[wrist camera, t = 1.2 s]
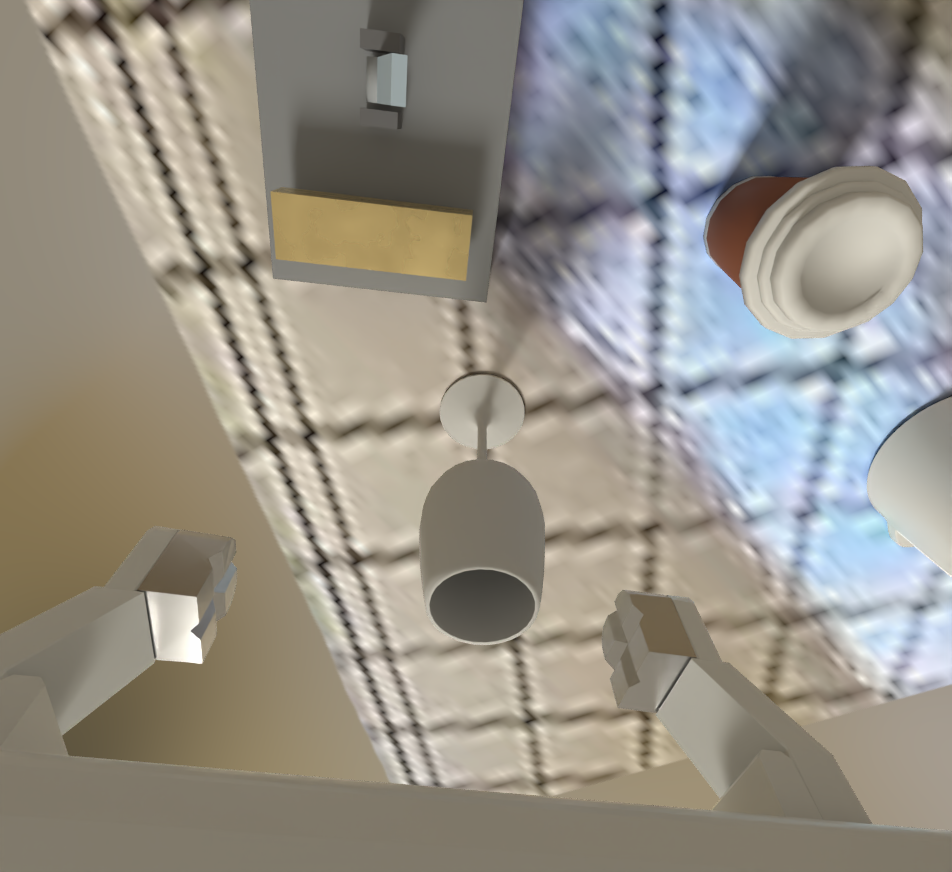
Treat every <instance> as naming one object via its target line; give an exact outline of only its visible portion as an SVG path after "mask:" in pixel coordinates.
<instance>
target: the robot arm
mask: <svg viewBox="0 0 952 872" xmlns="http://www.w3.org/2000/svg"><path fill="white" fill-rule="evenodd" d="M867 493H868V497H869V499H870V501H871V503H872V505H873V506H874V508H875V509H876V510H877V511H878V512H879V513H880V514H881V515H882V516H883V517H884V518H885V519H886V521H887V525H888V532H889V535H890V538H891V539H892V540H893V541H894V542H896V543H897V544H898V545H899V546H902V547H916V548H917V549H918V550H919V551H921V552H922V553H923V554H924V555H925V556H927V557H928V558H929V559H930V560H931V561H932V562H934V563H935V564H936V565H937V566H938V567H940V568H941V569H942V570H943V571H945V572H946V573H947V574H948V575H949V576H951V577H952V397H949V398H946V399H944V400H942V401H939V402H937V403H935V404H933V405H931V406H930V407H928V408H926V409H924V410H923V411H921V412H919V413H918V414H916V415H915V416H913V417H912V418H911V419H909V420H908V421H907V422H905V423H904V424H903V425H902V426H901V427H899V428H898V429H897V430H896V431H895V432H894V433H893V434H892V435H891V436H890V437H889V438H888V439H887V441H886V442H885V443H884V444H883V446H882V447H881V448H880V450H879V451H878V453H877V454H876V456H875V458H874V460H873V462H872V464H871V467H870V470H869V473H868V478H867ZM235 554H236V543H235V539H233V538H231V537H225V536H218V535H212V534H206V533H200V532H193V531H187V530H177V529H171V528H165V527H158V526H154V527H153V528H151V529H149V530H148V531H147V532H146V533H145V534H144V536H143V537H142V538H141V540H140V541H139V542H138V544H137V545H136V546H135V547H134V549H133V550H132V551H131V553H130V554H129V555H128V556H127V558H126V559H125V560H124V562H123V563H122V564H121V566H120V567H119V568H118V569H117V571H116V572H115V573H114V575H113V576H112V577H111V578H110V580H109V581H108V582H107V584H106V585H105V586H104V587H97V586H95V587H93V588H91V589H89V590H87V591H85V592H83V593H81V594H79V595H77V596H75V597H73V598H71V599H69V600H67V601H65V602H64V603H61V604H60V605H57V606H55V607H53V608H51V609H49V610H47V611H46V612H44V613H42V614H40V615H38V616H36V617H34V618H32V619H30V620H28V621H26V622H24V623H22V624H20V625H18V626H16V627H14V628H12V629H10V630H8V631H6V632H4V633H2V634H0V872H952V831H948V830H937V829H925V828H913V827H901V826H890V825H877V824H872V822H871V821H870V819H869V817H868V815H867V814H866V812H865V810H864V808H863V807H862V805H861V803H860V801H859V800H858V798H857V796H856V795H855V793H854V791H853V789H852V788H851V786H850V784H849V782H848V781H847V779H846V777H845V775H844V774H843V772H842V770H841V769H840V767H839V765H838V763H837V762H836V760H835V758H834V757H833V755H832V754H831V753H830V752H829V751H828V750H826V749H825V748H824V747H823V746H822V745H821V744H820V743H819V742H817V741H816V740H815V739H814V738H813V737H812V736H810V735H809V734H808V733H807V732H806V731H805V730H804V729H803V728H802V727H801V726H799V725H798V724H797V723H796V722H795V721H794V720H793V719H792V718H790V717H789V716H788V715H787V714H786V713H785V712H784V711H783V710H781V709H780V708H779V707H778V706H777V705H776V704H775V703H774V702H772V701H771V700H770V699H769V698H768V697H767V696H766V695H765V694H763V693H762V692H761V691H760V690H759V689H758V688H757V687H756V686H755V685H753V684H752V683H751V682H750V681H749V680H748V679H747V678H746V677H744V676H743V675H742V674H741V673H740V672H739V671H738V670H737V669H735V668H734V667H733V666H732V665H731V664H730V663H728V662H722V660H721V658H720V656H719V654H718V652H717V650H716V648H715V646H714V644H713V641H712V639H711V637H710V635H709V633H708V631H707V629H706V627H705V625H704V623H703V621H702V619H701V616H700V614H699V612H698V610H697V608H696V606H695V604H694V602H693V601H692V600H691V599H690V598H686V597H677V596H669V595H667V596H665V595H660V594H652V593H644V592H636V591H628V590H622V591H621V592H620V593H619V594H618V596H617V598H616V600H615V605H616V608H617V611H615V612H613V613H612V614H610V615H608V617H607V619H606V621H605V624H604V626H603V633H602V648H603V653H604V657H605V660H606V661H607V662H608V663H609V665H610V666H611V667H612V668H613V669H614V672H613V674H612V676H611V678H610V681H611V684H612V688H613V692H614V696H615V699H616V703H617V707H618V708H623V709H631V710H638V711H645V712H653V713H657V714H656V716H657V717H658V719H659V720H660V721H661V722H662V724H663V725H664V726H665V728H666V729H667V730H668V732H669V733H670V734H671V735H672V737H673V738H674V739H675V741H676V742H677V743H678V745H679V746H680V747H681V748H682V750H683V751H684V752H685V754H686V755H687V756H688V758H689V759H690V760H691V761H692V763H693V764H694V765H695V766H696V768H697V769H698V771H699V772H700V773H701V775H702V776H703V777H704V778H705V780H706V781H707V782H708V783H709V785H710V786H711V788H712V789H713V790H714V791H715V793H716V794H717V795H718V797H719V798H720V800H719V801H718V802H717V803H716V804H715V805H714V807H713V808H712V809H711V810H701V809H690V808H677V807H666V806H654V805H643V804H630V803H618V802H606V801H595V800H583V799H572V798H560V797H548V796H536V795H524V794H512V793H500V792H489V791H477V790H465V789H453V788H441V787H429V786H418V785H406V784H394V783H381V782H369V781H359V780H346V779H335V778H323V777H310V776H299V775H288V774H276V773H264V772H253V771H241V770H229V769H217V768H205V767H194V766H181V765H170V764H159V763H147V762H135V761H123V760H112V759H99V758H88V757H76V756H68V753H67V750H66V747H65V744H64V741H63V738H62V735H63V734H64V733H66V732H67V731H68V730H70V729H71V728H72V727H73V726H75V725H76V724H77V723H78V722H80V721H81V720H82V719H83V718H85V717H86V716H87V715H89V714H90V713H91V712H92V711H93V710H95V709H96V708H97V707H99V706H100V705H101V704H103V703H104V702H105V701H106V700H108V699H109V698H110V697H111V696H113V695H114V694H115V693H116V692H118V691H119V690H120V689H122V688H123V687H124V686H125V685H127V684H128V683H129V682H131V681H132V680H133V679H134V678H136V677H137V676H138V675H139V674H140V673H142V672H143V671H144V670H146V669H147V668H148V667H150V666H151V665H152V664H153V663H155V659H156V660H168V661H180V662H181V661H182V662H193V663H203V661H204V659H205V657H206V655H207V653H208V651H209V649H210V647H211V645H212V643H213V641H214V639H215V637H216V635H217V628H216V621H218V620H219V619H221V618H222V617H224V616H225V615H226V614H227V611H228V609H229V607H230V605H231V603H232V599H233V596H234V592H235V589H236V580H237V568H236V567H235V566H234V565H233V564H232V562H231V561H232V560H233V558H234V556H235Z"/></svg>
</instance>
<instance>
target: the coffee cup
mask: <svg viewBox="0 0 952 872" xmlns="http://www.w3.org/2000/svg"><path fill="white" fill-rule="evenodd" d="M703 238H704V243H705V247H706V252H707V254H708V255H709V257H710V258H711V259H712V260H713V261H714V263H715V264H716V265H717V266H718V267H720V268H721V269H722V270H723V271H724V272H725V273H726V274H727V275H728V276H729V277H730V278H731V279H732V280H733V281H734V282H735V283H736V284H737V285H738V286H739V287H740V288H741V289H742V294H743V299H744V304H745V305H746V307H747V308H748V309H749V310H750V311H751V313H752V314H753V315H754V316H755V318H756V319H757V320H758V321H759V322H760V324H761V325H762V326H764V327H765V328H767V329H769V330H772V331H774V332H777V333H779V334H781V335H784V336H786V337H789V338H791V339H796V338H825V337H827V336H830V335H833V334H836V333H838V332H841V331H844V330H847V329H849V328H852V327H855V326H857V325H860V324H862V323H865V322H868V321H869V320H871V319H872V318H873V317H875V316H876V315H877V314H879V313H880V312H882V311H883V310H884V309H886V308H887V307H889V306H890V305H891V304H893V303H894V301H895V300H896V299H897V298H898V296H899V295H900V294H901V293H902V291H903V290H904V289H905V288H906V286H907V285H908V284H909V283H910V281H911V280H912V279H913V276H914V273H915V271H916V268H917V266H918V263H919V261H920V258H921V255H922V253H923V225H922V208H921V206H920V204H919V203H918V201H917V199H916V198H915V196H914V194H913V193H912V191H911V189H910V187H909V186H908V184H907V182H906V181H905V180H903V179H901V178H899V177H897V176H895V175H893V174H891V173H889V172H887V171H885V170H883V169H881V168H879V167H874V166H849V167H833V168H830V169H828V170H826V171H823V172H821V173H819V174H816V175H814V176H812V177H810V178H801V177H774V176H752V177H749V178H747V179H745V180H743V181H740V182H738V183H736V184H734V185H732V186H731V187H730V188H729V189H728V190H727V191H726V192H724V193H723V194H722V195H721V196H720V197H719V198H718V199H717V200H716V202H715V204H714V205H713V207H712V209H711V211H710V212H709V214H708V216H707V218H706V224H705V229H704V235H703Z"/></svg>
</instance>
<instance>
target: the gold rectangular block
mask: <svg viewBox="0 0 952 872" xmlns="http://www.w3.org/2000/svg"><path fill="white" fill-rule="evenodd" d="M270 192H271V204H272V217H273V229H274V241H275V254H276V259H278V260H287V261H296V262H304V263H313V264H322V265H331V266H339V267H348V268H357V269H366V270H375V271H383V272H392V273H401V274H410V275H418V276H427V277H436V278H445V279H453V280H462V281H466V276H467V266H468V256H469V246H470V236H471V226H472V216H473V210H469V209H460V208H452V207H444V206H435V205H427V204H419V203H411V202H402V201H394V200H386V199H377V198H369V197H361V196H353V195H344V194H336V193H328V192H319V191H311V190H303V189H294V188H286V187H281V188H278V189H276V190H273V191H270Z"/></svg>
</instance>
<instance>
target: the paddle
mask: <svg viewBox="0 0 952 872" xmlns="http://www.w3.org/2000/svg"><path fill="white" fill-rule="evenodd" d="M407 57H408V55H402V54H396V53H390V54H386V55H383V56H380V57H371V56H367V65H366V102H372V103H379V104H385V105H392V106H400V107H406V84H407Z"/></svg>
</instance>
